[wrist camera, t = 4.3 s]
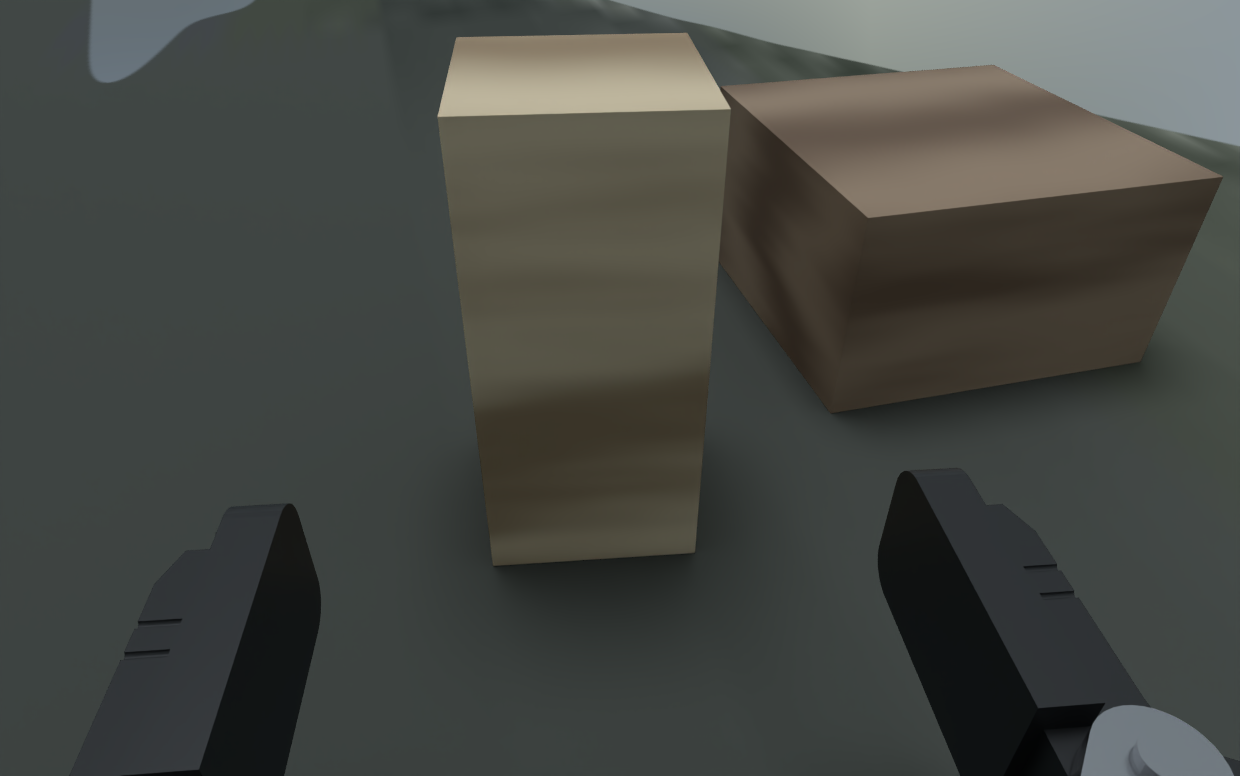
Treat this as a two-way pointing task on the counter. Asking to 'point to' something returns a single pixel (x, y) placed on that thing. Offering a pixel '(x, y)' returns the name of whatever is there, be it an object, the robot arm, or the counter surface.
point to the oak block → (586, 283)
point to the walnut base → (949, 231)
